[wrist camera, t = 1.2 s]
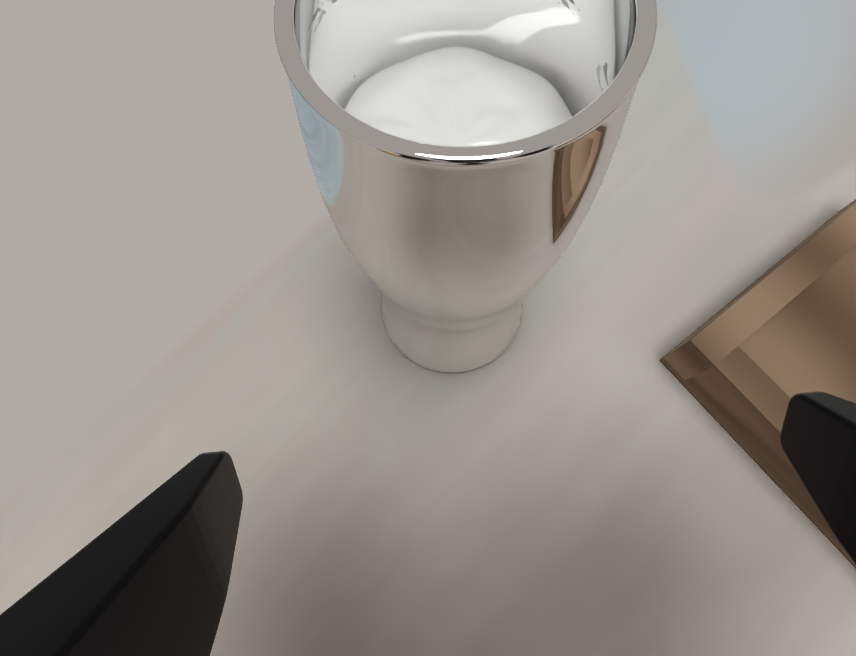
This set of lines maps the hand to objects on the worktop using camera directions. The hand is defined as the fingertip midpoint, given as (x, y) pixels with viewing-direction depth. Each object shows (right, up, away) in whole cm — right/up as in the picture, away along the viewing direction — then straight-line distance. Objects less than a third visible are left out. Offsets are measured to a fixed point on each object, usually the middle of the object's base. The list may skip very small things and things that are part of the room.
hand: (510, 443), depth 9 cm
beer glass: (0, +3, +15) cm, 15 cm away
